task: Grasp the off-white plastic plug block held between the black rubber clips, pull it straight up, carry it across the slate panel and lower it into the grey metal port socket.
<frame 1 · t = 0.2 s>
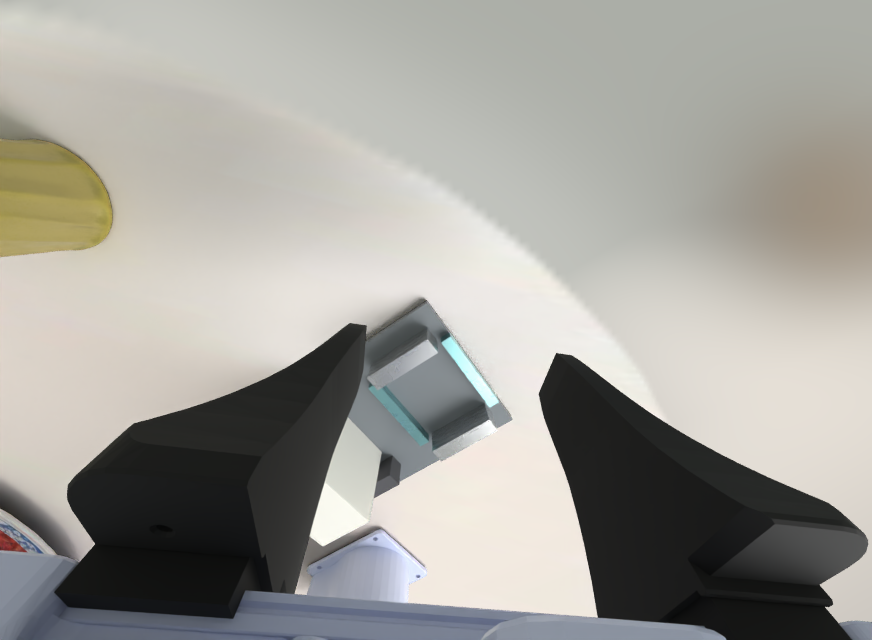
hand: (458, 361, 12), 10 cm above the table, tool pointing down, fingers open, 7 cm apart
plug: (333, 474, 23), on the panel, point 4 cm above the table
vase: (64, 197, 19), on the table
port: (434, 389, 24), resting on panel
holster: (340, 453, 24), on the panel, point 1 cm above the table
panel: (388, 412, 25), on the table
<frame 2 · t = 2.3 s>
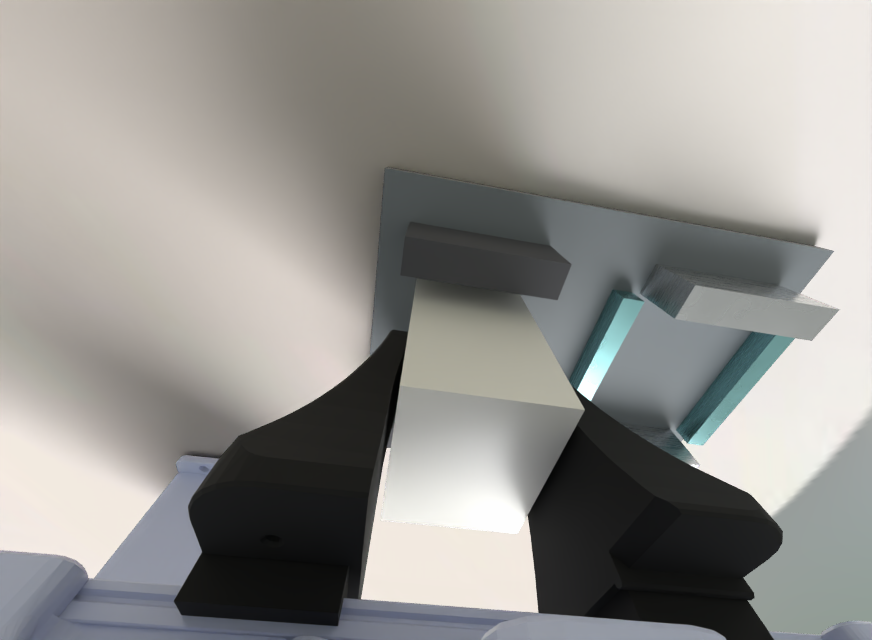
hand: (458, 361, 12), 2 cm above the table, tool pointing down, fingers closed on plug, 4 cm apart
plug: (460, 390, 10), on the panel, point 4 cm above the table, touching gripper
port: (657, 370, 14), resting on panel
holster: (457, 355, 12), on the panel, point 1 cm above the table
panel: (554, 348, 14), on the table
when the fingers open (3 cm above the table, at t = 6.2 s): plug drops 1 cm, resting on panel.
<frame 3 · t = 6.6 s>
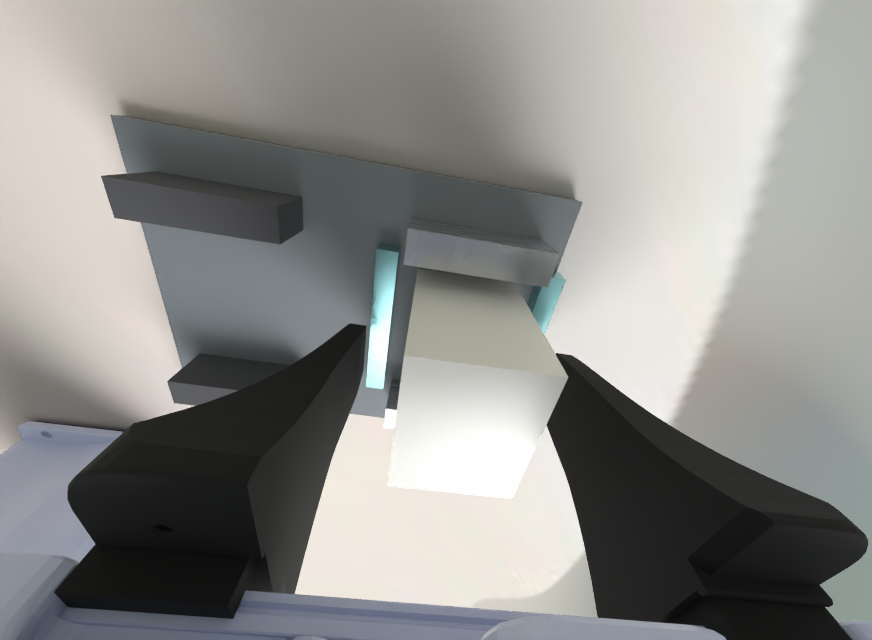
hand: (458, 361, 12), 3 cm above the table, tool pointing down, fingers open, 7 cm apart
plug: (459, 370, 11), on the panel, point 4 cm above the table
port: (455, 329, 14), resting on panel
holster: (232, 308, 12), on the panel, point 1 cm above the table
panel: (356, 307, 14), on the table
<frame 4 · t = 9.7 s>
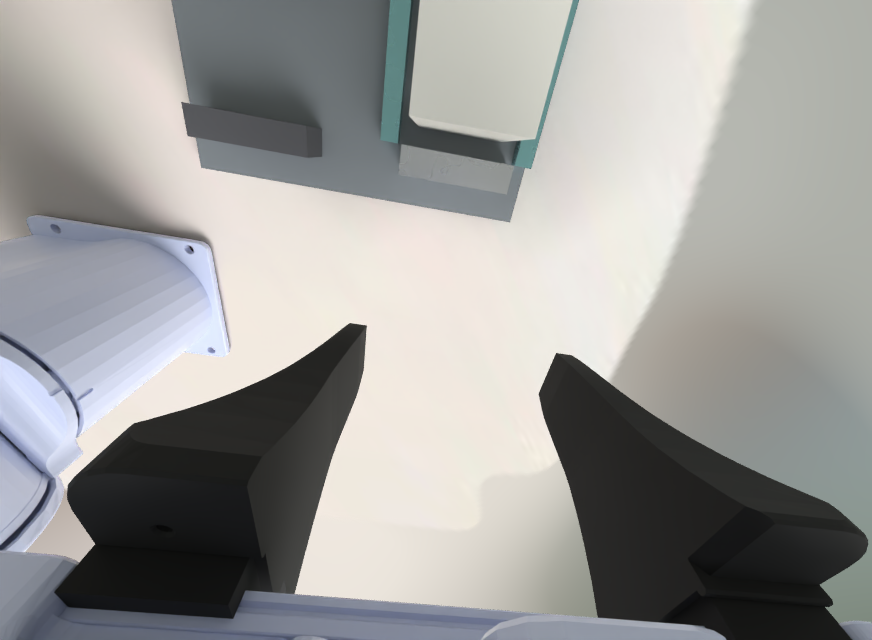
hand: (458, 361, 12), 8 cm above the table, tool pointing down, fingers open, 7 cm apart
plug: (479, 50, 11), on the panel, point 4 cm above the table
port: (470, 70, 14), resting on panel
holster: (247, 17, 12), on the panel, point 1 cm above the table
panel: (371, 52, 14), on the table
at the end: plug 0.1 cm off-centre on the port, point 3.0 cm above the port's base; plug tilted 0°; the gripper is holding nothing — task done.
